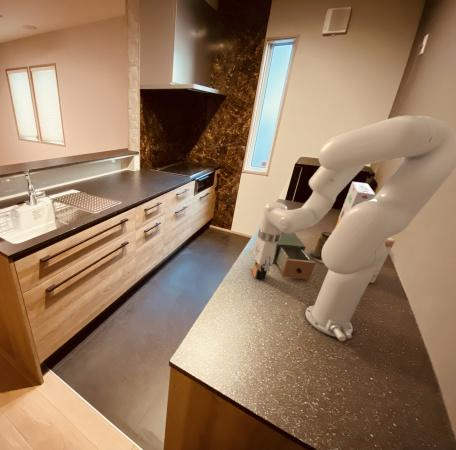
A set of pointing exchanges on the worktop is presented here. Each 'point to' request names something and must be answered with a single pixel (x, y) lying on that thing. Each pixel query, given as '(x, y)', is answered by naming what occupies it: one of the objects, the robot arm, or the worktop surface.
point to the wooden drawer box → (294, 262)
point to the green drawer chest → (289, 242)
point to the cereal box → (356, 197)
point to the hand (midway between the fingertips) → (258, 274)
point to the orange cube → (256, 269)
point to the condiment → (319, 247)
